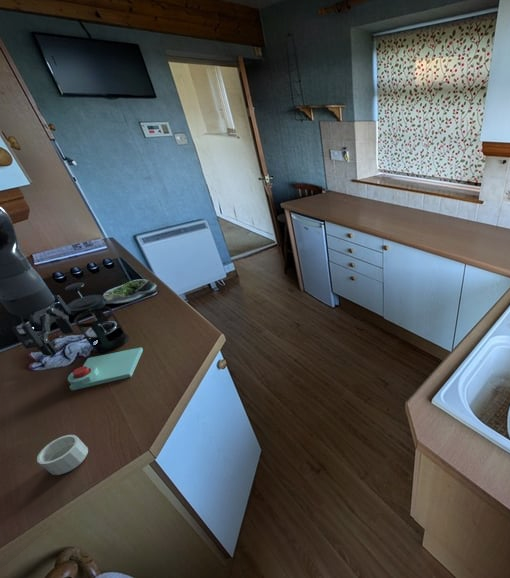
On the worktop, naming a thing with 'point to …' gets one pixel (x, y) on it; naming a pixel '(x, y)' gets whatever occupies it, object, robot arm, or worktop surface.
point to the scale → (107, 368)
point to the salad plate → (130, 291)
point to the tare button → (81, 372)
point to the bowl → (62, 454)
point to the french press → (97, 321)
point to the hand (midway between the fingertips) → (61, 343)
